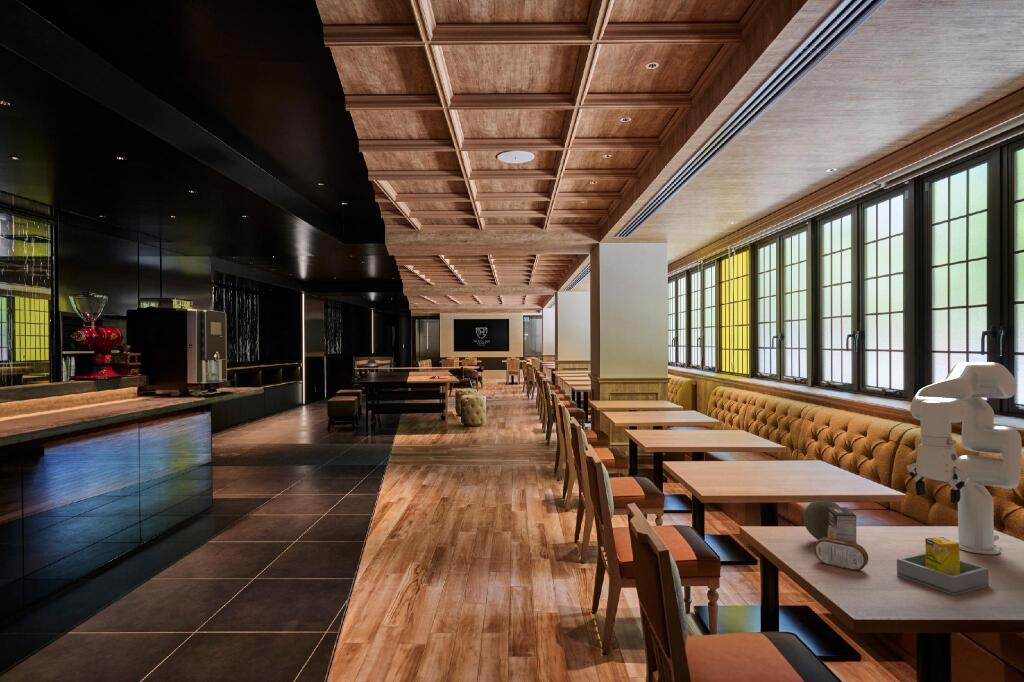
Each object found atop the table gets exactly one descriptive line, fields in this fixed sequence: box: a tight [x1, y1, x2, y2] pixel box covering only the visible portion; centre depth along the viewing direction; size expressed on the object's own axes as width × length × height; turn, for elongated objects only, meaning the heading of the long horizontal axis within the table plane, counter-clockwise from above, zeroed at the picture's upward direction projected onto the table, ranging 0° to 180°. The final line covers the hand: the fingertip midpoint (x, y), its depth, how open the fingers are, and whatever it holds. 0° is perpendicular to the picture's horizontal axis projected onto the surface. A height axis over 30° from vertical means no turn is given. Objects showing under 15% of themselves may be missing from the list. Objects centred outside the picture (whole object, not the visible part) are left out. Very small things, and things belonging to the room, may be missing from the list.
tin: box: [813, 537, 869, 572], centre depth 186 cm, size 15×3×8 cm, turn 47°
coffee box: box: [827, 506, 858, 544], centre depth 192 cm, size 9×6×16 cm
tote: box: [896, 551, 990, 596], centre depth 174 cm, size 16×16×5 cm
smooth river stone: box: [802, 499, 841, 541], centre depth 208 cm, size 14×14×15 cm
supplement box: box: [924, 536, 961, 576], centre depth 174 cm, size 6×6×11 cm
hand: (937, 498), depth 177 cm, fingers open, 9 cm apart
